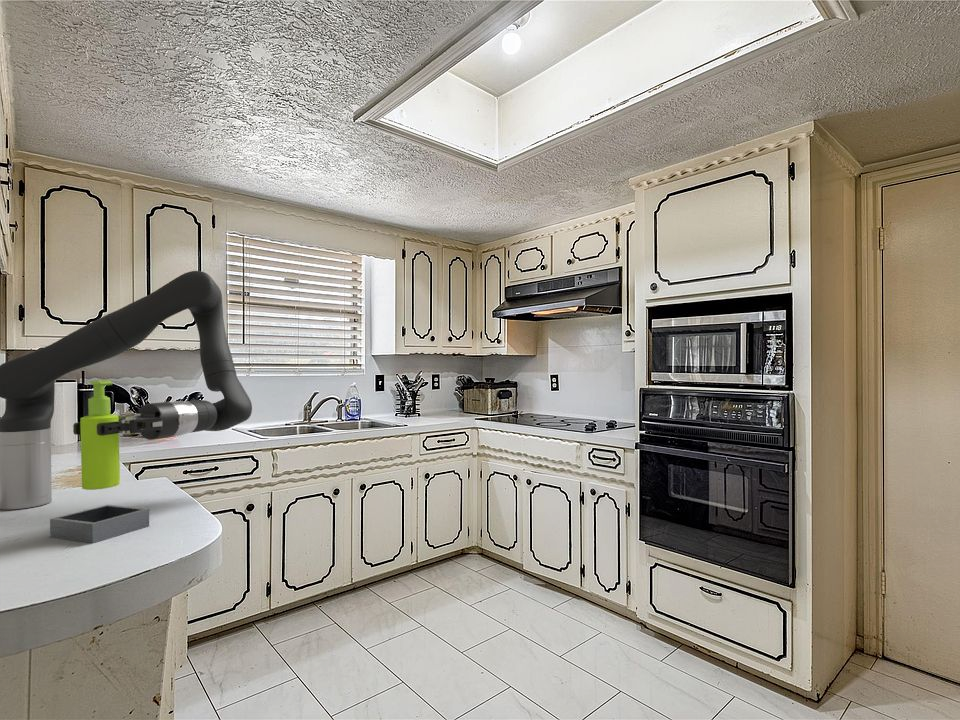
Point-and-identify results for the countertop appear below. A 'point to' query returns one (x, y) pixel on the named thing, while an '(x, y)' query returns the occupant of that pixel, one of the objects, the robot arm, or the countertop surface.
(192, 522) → the countertop surface
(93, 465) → the soap dispenser
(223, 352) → the robot arm
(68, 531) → the metal tray
